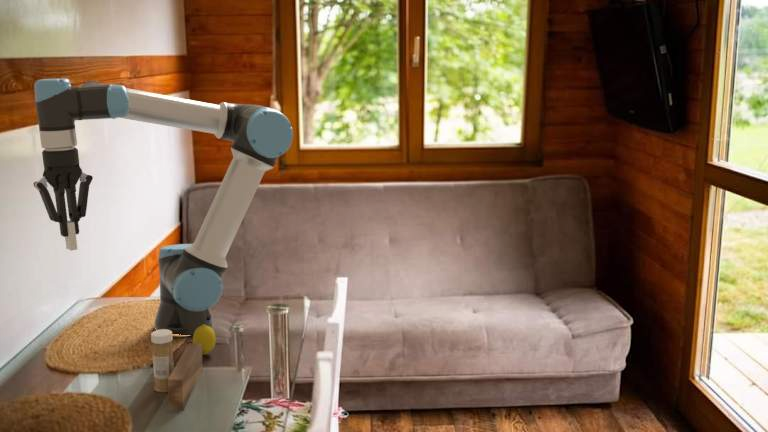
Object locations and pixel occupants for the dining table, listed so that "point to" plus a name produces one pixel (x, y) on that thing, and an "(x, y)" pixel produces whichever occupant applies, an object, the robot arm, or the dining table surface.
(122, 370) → the dining table surface
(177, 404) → the walnut board
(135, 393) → the dining table surface
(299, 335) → the dining table surface
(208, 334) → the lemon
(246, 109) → the robot arm
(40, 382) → the dining table surface
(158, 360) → the sprinkles bottle
